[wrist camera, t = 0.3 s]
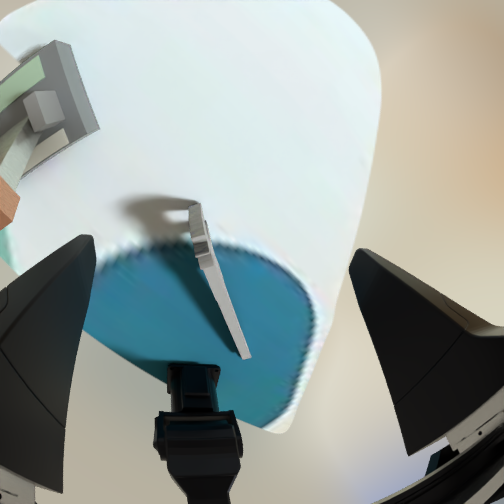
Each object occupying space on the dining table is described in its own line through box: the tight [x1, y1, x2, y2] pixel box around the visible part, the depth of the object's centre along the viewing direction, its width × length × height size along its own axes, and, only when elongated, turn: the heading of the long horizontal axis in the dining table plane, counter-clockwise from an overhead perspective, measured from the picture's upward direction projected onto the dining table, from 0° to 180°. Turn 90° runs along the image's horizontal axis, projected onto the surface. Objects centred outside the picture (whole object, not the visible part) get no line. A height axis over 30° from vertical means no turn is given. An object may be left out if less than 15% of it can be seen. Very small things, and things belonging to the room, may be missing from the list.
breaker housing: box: [0, 40, 100, 180], centre depth 13 cm, size 8×10×6 cm
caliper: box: [189, 203, 251, 360], centre depth 26 cm, size 20×1×6 cm, turn 11°
